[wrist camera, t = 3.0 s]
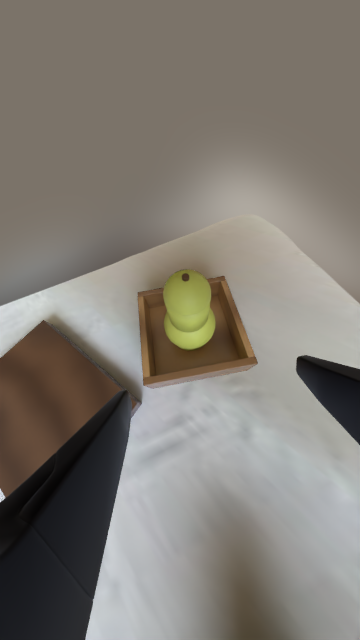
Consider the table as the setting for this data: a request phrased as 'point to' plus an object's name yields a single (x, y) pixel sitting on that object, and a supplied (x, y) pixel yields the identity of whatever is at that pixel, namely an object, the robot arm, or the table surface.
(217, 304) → the wooden tray
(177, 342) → the pear
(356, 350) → the table surface
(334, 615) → the table surface
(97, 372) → the walnut board
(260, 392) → the table surface
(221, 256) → the table surface
